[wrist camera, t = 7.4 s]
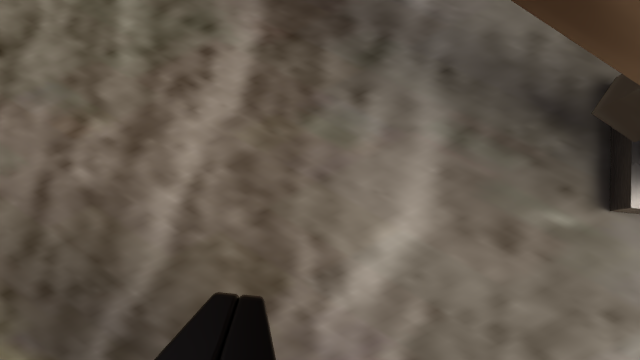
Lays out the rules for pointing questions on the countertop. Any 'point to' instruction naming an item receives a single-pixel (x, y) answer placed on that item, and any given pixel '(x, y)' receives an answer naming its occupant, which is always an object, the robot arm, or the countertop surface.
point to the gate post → (624, 174)
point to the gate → (603, 50)
